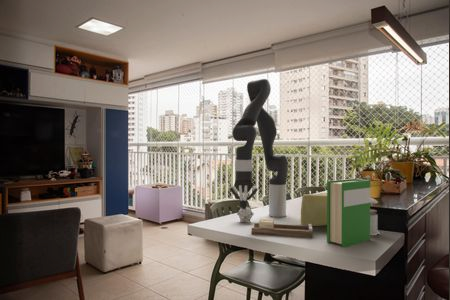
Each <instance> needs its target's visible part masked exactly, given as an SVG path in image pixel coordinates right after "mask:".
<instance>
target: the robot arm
mask: <svg viewBox="0 0 450 300" xmlns="http://www.w3.org/2000/svg"><path fill="white" fill-rule="evenodd" d="M271 89H272V88H271V83H270V81H269V80H268V79H266V78H261V79H255V80H251V81H248V82H247V86H246V91H247V96H248V98H249V100H250V102H249V103H248V104H247V106H246V107H245V109H244V110H243V113H242V116H241V118H240V119H239V120H238V122H236V124H235V125H234V127H233V129H232V132H231V133H232V138H233V140H234V141H236V142H246V143H245V144H244V145H241V146H238V147H237V148H236V149H235V150H236V153H235V154H236V156H235V157H236V158H235V169H234V170H235V181H234V184H233V185H232V186H231V187H230V188H229V190H230V192H231V193H232V194H233V196H234V197H235V199H236V200H239V202H240V204H239V206H240V207H239V208H242V209H245V208H246V207H248V201H250V200H251V199H252V198H253V197H254V196H255V195H256V193H257V192H258V190H259V188H258V187H256V186H254V182H253V148H254V143H255V140H256V138H257V130H256V128H255V126H256V125H257V129H258V134H259V136H260V139H261V144H262V149H263V155H264V160H265V161H264V162H265V167H266V169H267V170H268V171H270V172H275V173H276V175H275V176H273V177H271V178H269V181H268V216H270V217H274V218H275V217H276V218H284V217H286V216H287V180H288V167H289V164H288V158H287V156H286V155H284V154H275V153H274V149H273V147H274V146H273V145H274V142H275V140H276V137H277V134H278V132H277V130H278V129H277V126H276V121H275V119H274V117H273V116H272V115H271V114H270V113H269V112H268V111H267V110H266V109H265V108H264V107H263V106H264V105H265V103H266V102H267V100H268V98H269V97H270V94H271ZM237 191H238V193H237ZM250 191H251V193H249V192H250ZM248 195H249V196H248Z"/></svg>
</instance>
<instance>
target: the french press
mask: <svg viewBox="0 0 450 300" xmlns="http://www.w3.org/2000/svg"><path fill="white" fill-rule="evenodd" d="M370 178H371V176H370V175H365V179H370ZM378 203H379V201H378V200H376V199H375V198H373V197H370V205H373V204H378ZM377 212H378V211H377V210H376V209H372V208H370V236H378V235H377V234H379V235H381V233H380V232H379V230H378V225H379V223H378V222H379V221H378V219H379V218H378V213H377Z"/></svg>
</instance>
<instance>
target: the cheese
mask: <svg viewBox="0 0 450 300" xmlns="http://www.w3.org/2000/svg"><path fill="white" fill-rule="evenodd" d="M300 207H301V208H300V225H308V224H311V225H312V227H319V226H321V227H322V226H327V192H323V193H322V192H321V193H311V194H310V193H308V194H307V193H306V194H305V193H304V194H302V198H301V205H300Z"/></svg>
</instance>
